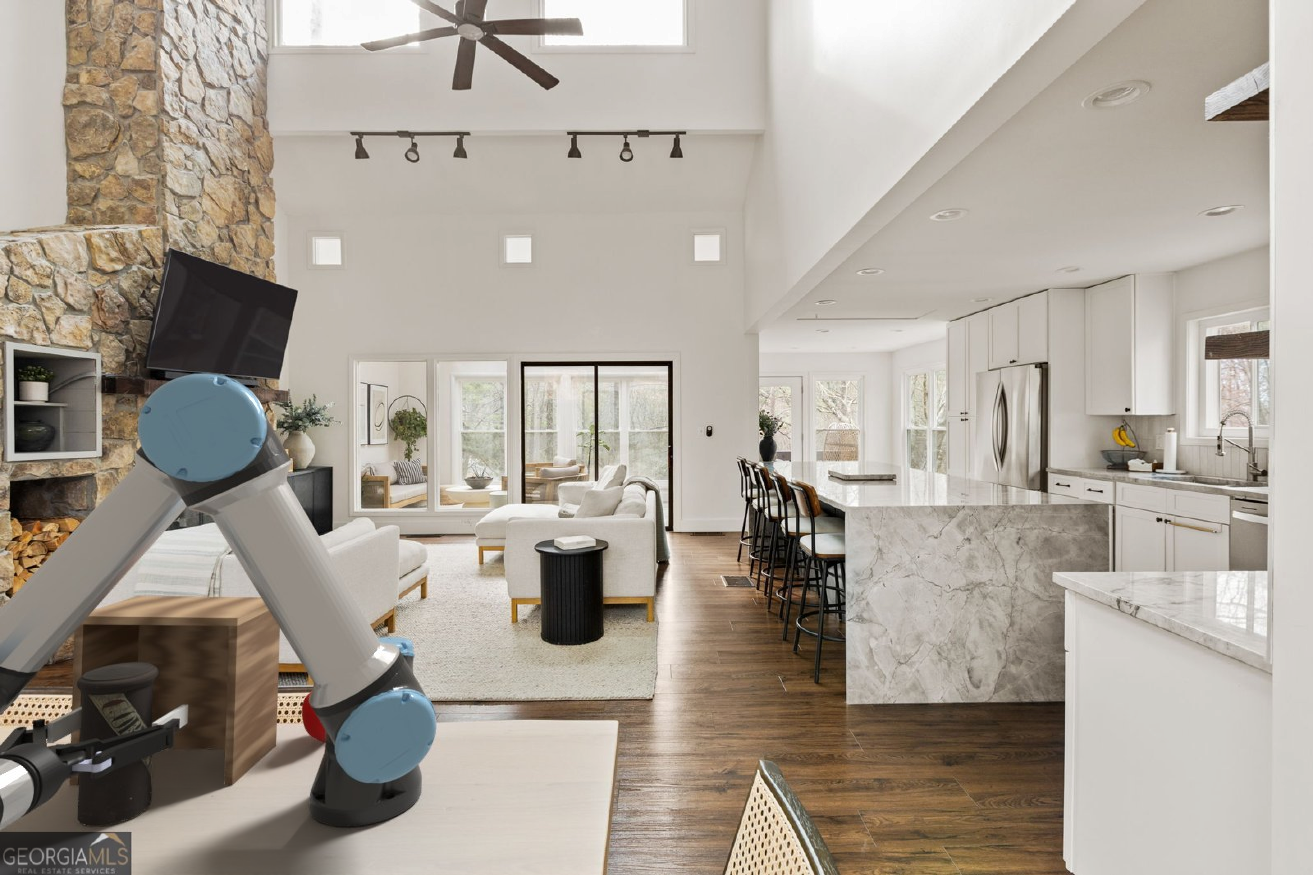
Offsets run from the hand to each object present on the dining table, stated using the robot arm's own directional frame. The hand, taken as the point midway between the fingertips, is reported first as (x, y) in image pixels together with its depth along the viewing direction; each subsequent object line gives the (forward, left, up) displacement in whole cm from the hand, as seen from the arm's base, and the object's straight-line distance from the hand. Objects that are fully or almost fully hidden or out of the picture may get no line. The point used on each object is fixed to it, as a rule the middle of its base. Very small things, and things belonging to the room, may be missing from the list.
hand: (136, 713), depth 97 cm
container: (0, +3, -12) cm, 13 cm away
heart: (-19, -19, -12) cm, 29 cm away
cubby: (0, -10, -12) cm, 16 cm away
